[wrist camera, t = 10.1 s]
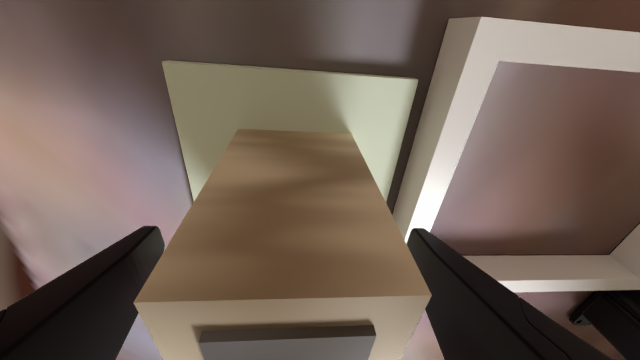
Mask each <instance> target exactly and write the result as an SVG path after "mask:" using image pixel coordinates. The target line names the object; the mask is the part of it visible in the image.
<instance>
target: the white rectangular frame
mask: <svg viewBox="0 0 640 360" xmlns="http://www.w3.org/2000/svg"><path fill="white" fill-rule="evenodd" d="M499 61H506V62H518V63H530V64H542V65H555V66H567V67H579V68H591V69H604V70H616V71H628V72H640V33H639V32H630V31H620V30H610V29H600V28H590V27H580V26H570V25H560V24H550V23H540V22H530V21H520V20H510V19H500V18H490V17H467V18H451V19H449V21H448V24H447V28H446V31H445V34H444V38H443V41H442V45H441V48H440V52H439V55H438V59H437V62H436V66H435V69H434V73H433V76H432V79H431V83H430V86H429V90H428V93H427V97H426V100H425V104H424V107H423V111H422V114H421V118H420V121H419V124H418V128H417V131H416V135H415V138H414V142H413V145H412V149H411V152H410V156H409V159H408V163H407V166H406V169H405V173H404V176H403V180H402V183H401V187H400V190H399V194H398V197H397V201H396V204H395V207H394V211H393V214H392V216H393V218H394V220H395V222H396V224H397V226H398V228H399V230H400V232H401V234H402V236H403V238H404V240H405V242H406V244H407V241H408V238H409V235H410V232H411V230H412V229H413V228H424V229H426V230H427V231H429V232H430V230H431V228H432V225H433V223H434V220H435V218H436V215H437V213H438V210H439V208H440V205H441V203H442V201H443V198H444V196H445V193H446V191H447V188H448V186H449V183H450V181H451V178H452V176H453V174H454V171H455V169H456V166H457V164H458V161H459V159H460V156H461V154H462V151H463V149H464V146H465V144H466V142H467V139H468V137H469V134H470V132H471V129H472V127H473V124H474V122H475V119H476V117H477V115H478V112H479V110H480V107H481V105H482V102H483V100H484V97H485V95H486V92H487V90H488V87H489V85H490V83H491V80H492V78H493V75H494V73H495V70H496V68H497V65H498V63H499ZM463 257H465V258H466V259H468V260H469V261H470V262H472V263H473V264H475V265H476V266H477V267H479V268H480V269H481V270H483V271H484V272H486V273H487V274H488V275H490V276H491V277H493V278H494V279H495V280H497V281H498V282H500V283H501V284H502V285H504V286H505V287H507V288H508V289H509V290H511V291H512V292H556V291H606V290H640V224H639V225H638V226H637V227H636V228H635V229H634V230H633V231H632V232H631V233H630V234H629V235H628V236H627V237H626V238H625V239H624V240H623V241H622V242H621V243H620V244H619V245H618V246H617V247H616V248H615V250H614V251H613V252H612V253H611V254H610V255H531V256H463Z"/></svg>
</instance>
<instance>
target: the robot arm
mask: <svg viewBox="0 0 640 360" xmlns="http://www.w3.org/2000/svg"><path fill="white" fill-rule="evenodd" d="M407 246H408V248H409V250H410V252H411V254H412V256H413V258H414V260H415V262H416V264H417V266H418V268H419V270H420V272H421V274H422V276H423V278H424V280H425V282H426V284H427V286H428V288H429V291H430V293H431V295H432V296H431V298H430V300H429V302H428V304H427V306H426V308H425V310H426V313H427V315H428V318H429V320H430V323H431V325H432V328H433V331H434V333H435V336H436V338H437V341H438V343H439V346H440V349H441V351H442V354H443V356H444V359H445V360H613V359H611V358H610V357H608V356H607V355H605V354H604V353H602V352H601V351H599V350H598V349H596V348H594V347H593V346H591V345H590V344H588V343H587V342H585V341H584V340H582V339H580V338H579V337H577V336H576V335H574V334H573V333H571V332H570V331H568V330H567V329H565V328H564V327H562V326H561V325H559V324H558V323H556V322H555V321H553V320H552V319H550V318H549V317H547V316H546V315H545V314H543V313H542V312H540V311H539V310H537V309H536V308H534V307H533V306H532V305H530V304H529V303H527V302H526V301H525V300H523V299H522V298H519V297H518V295H516V294H515V293H513V292H512V291H511V290H509V289H508V288H507V287H505V286H504V285H502V284H501V283H500V282H498V281H497V280H495V279H494V278H493V277H491V276H490V275H488V274H487V273H486V272H484V271H483V270H481V269H480V268H479V267H477V266H476V265H475V264H473V263H472V262H470V261H469V260H468V259H466V258H465V257H463V256H462V255H461V254H459V253H458V252H456V251H455V250H454V249H452V248H451V247H449V246H448V245H447V244H445V243H444V242H442V241H441V240H440V239H438V238H437V237H436V236H434V235H433V234H431V233H430V232H429V231H427V230H426V229H424V228H413V229H412V230H411V232H410V235H409V238H408V241H407ZM164 247H165V244H164V241H163V238H162V235H161V232H160V229H159V228H158V227H157V226H143V227H141V228H140V229H138V230H136V231H135V232H133V233H131V234H130V235H128V236H126V237H124V238H123V239H121V240H119V241H118V242H116V243H114V244H113V245H111V246H109V247H108V248H106V249H104V250H103V251H101V252H99V253H98V254H96V255H94V256H93V257H91V258H89V259H88V260H86V261H84V262H82V263H81V264H79V265H77V266H76V267H74V268H72V269H71V270H69V271H67V272H66V273H64V274H62V275H61V276H59V277H57V278H56V279H54V280H52V281H51V282H49V283H47V284H45V285H44V286H42V287H40V288H39V289H37V290H35V291H34V292H32V293H31V294H29V295H27V296H25V297H24V298H22V299H20V300H19V301H17V302H15V303H14V304H12V305H10V306H9V307H7V309H4V310H2V311H0V360H116V358H117V356H118V354H119V351H120V349H121V347H122V345H123V343H124V341H125V339H126V337H127V335H128V333H129V331H130V329H131V327H132V325H133V323H134V321H135V319H136V317H137V315H138V313H139V312H138V310H137V308H136V307H135V305H134V303H133V302H134V301H135V299H136V297H137V296H138V294H139V292H140V291H141V289H142V287H143V286H144V284H145V283H146V281H147V279H148V278H149V276H150V274H151V273H152V271H153V269H154V268H155V266H156V264H157V263H158V261H159V259H160V258H161V256H162V254H163V252H164ZM569 320H570V321H571V322H572V323H573V324H574V325H590V324H592V325H593V326H594V327H595V328H596V329H597V330H598V331H599V332H600V333H601V334H602V335H603V336H604V337H605V338H606V339H607V340H608V341H609V342H610V343H611V344H612V345H613V346H614V347H615V348H616V349H617V350H618V351H619V352H620V353H621V354H622V355H623V356H624V357H625V358H626V359H627V360H640V290H606V291H597V292H596V293H595V294H594V295H593V296H592V297H591V298H590V299H589V300H588V301H587V302H586V303H585V304H584V305H582V306H581V307H580V308H579V309H578V310H577V311H576V312H575V313H574V314H573V315H572V316H571V317H570V318H569Z"/></svg>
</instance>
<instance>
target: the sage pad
mask: <svg viewBox="0 0 640 360" xmlns="http://www.w3.org/2000/svg"><path fill="white" fill-rule="evenodd" d="M162 66H163V70H164V75H165V79H166V83H167V88H168V92H169V96H170V101H171V105H172V109H173V114H174V118H175V122H176V127H177V131H178V135H179V140H180V144H181V148H182V153H183V157H184V161H185V166H186V170H187V174H188V179H189V183H190V187H191V192H192V196H193V200H194V201H195V199H196V198H197V196H198V194H199V193H200V191H201V189H202V188H203V186H204V185H205V183H206V181H207V180H208V178H209V176H210V175H211V173H212V171H213V170H214V168H215V166H216V165H217V163H218V161H219V160H220V158H221V156H222V155H223V153H224V151H225V150H226V148H227V146H228V145H229V143H230V141H231V140H232V138H233V136H234V135H235V133H236V131H237V130H238V129H254V130H278V131H303V132H327V133H351V134H352V135H353V137H354V140H355V142H356V144H357V146H358V148H359V150H360V152H361V154H362V156H363V158H364V160H365V162H366V164H367V166H368V168H369V170H370V172H371V174H372V176H373V178H374V180H375V182H376V184H377V186H378V188H379V190H380V192H381V194H382V196H383V198H384V200H385V202H387V198H388V194H389V190H390V187H391V183H392V179H393V175H394V171H395V168H396V164H397V160H398V156H399V152H400V149H401V145H402V141H403V137H404V134H405V130H406V126H407V122H408V118H409V115H410V111H411V107H412V103H413V99H414V96H415V92H416V88H417V84H418V81H419V80H418V79H415V78H410V77H396V76H382V75H368V74H354V73H340V72H326V71H312V70H298V69H284V68H270V67H256V66H242V65H228V64H214V63H200V62H186V61H172V60H166V61H162Z"/></svg>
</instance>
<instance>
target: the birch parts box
mask: <svg viewBox="0 0 640 360" xmlns="http://www.w3.org/2000/svg"><path fill="white" fill-rule="evenodd" d="M431 296H432V295H431V293H430V291H429V288H428V286H427V284H426V282H425V280H424V278H423V276H422V274H421V272H420V270H419V268H418V266H417V264H416V262H415V260H414V258H413V256H412V254H411V252H410V250H409V248H408V246H407V244H406V242H405V240H404V238H403V236H402V234H401V232H400V230H399V228H398V226H397V224H396V222H395V220H394V218H393V216H392V214H391V212H390V210H389V208H388V206H387V204H386V202H385V200H384V198H383V196H382V194H381V192H380V190H379V188H378V186H377V184H376V182H375V180H374V178H373V176H372V174H371V172H370V170H369V168H368V166H367V164H366V162H365V160H364V158H363V156H362V154H361V152H360V150H359V148H358V146H357V144H356V142H355V140H354V137H353V135H352V134H351V133H327V132H303V131H278V130H254V129H238V130H237V131H236V133H235V135H234V136H233V138H232V140H231V141H230V143H229V145H228V146H227V148H226V150H225V151H224V153H223V155H222V156H221V158H220V160H219V161H218V163H217V165H216V166H215V168H214V170H213V171H212V173H211V175H210V176H209V178H208V180H207V181H206V183H205V185H204V186H203V188H202V189H201V191H200V193H199V194H198V196H197V198H196V199H195V201H194V203H193V204H192V206H191V208H190V209H189V211H188V213H187V214H186V216H185V218H184V219H183V221H182V223H181V224H180V226H179V228H178V229H177V231H176V233H175V234H174V236H173V238H172V239H171V241H170V243H169V244H168V246H167V248H166V249H165V251H164V253H163V254H162V256H161V258H160V259H159V261H158V263H157V264H156V266H155V268H154V269H153V271H152V273H151V274H150V276H149V278H148V279H147V281H146V283H145V284H144V286H143V287H142V289H141V291H140V292H139V294H138V296H137V297H136V299H135V301H134V302H133V303H134V305H135V307H136V308H137V310H138V312H139V314H140V316H141V318H142V320H143V322H144V324H145V325H146V327H147V329H148V331H149V333H150V335H151V337H152V339H153V341H154V342H155V344H156V346H157V348H158V350H159V352H160V354H161V356H162V357H163V359H164V360H400V359H401V357H402V355H403V353H404V351H405V349H406V347H407V345H408V343H409V341H410V339H411V337H412V335H413V333H414V331H415V329H416V327H417V325H418V323H419V321H420V319H421V317H422V314H423V312H424V310H425V308H426V306H427V304H428V302H429V300H430V298H431Z"/></svg>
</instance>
